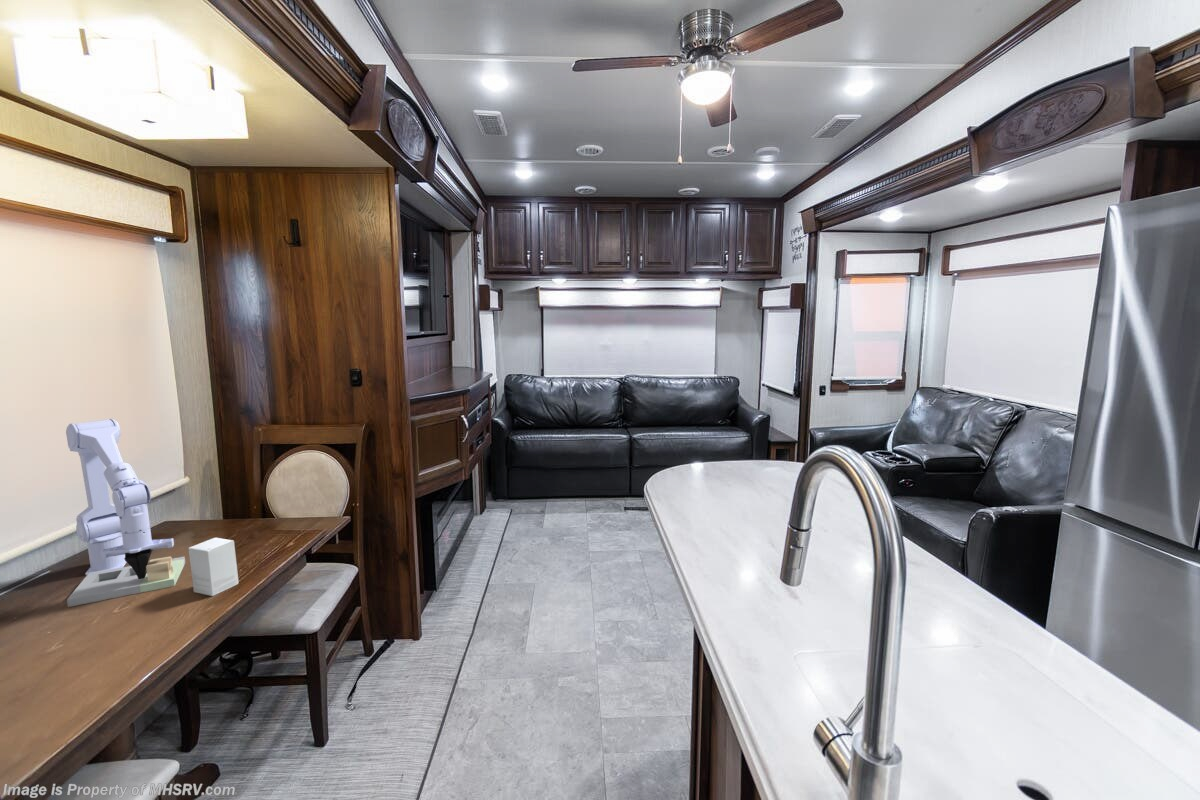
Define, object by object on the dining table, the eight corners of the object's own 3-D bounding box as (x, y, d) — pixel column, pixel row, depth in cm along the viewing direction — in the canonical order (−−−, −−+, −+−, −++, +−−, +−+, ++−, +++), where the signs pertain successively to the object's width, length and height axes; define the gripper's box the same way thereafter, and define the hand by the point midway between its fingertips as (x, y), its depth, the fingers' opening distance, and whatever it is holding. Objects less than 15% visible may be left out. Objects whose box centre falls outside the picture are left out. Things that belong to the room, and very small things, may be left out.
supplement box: (239, 583, 141) (235, 540, 139) (212, 597, 134) (206, 551, 132) (220, 579, 143) (216, 536, 142) (192, 592, 136) (187, 547, 135)
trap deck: (89, 580, 143) (88, 573, 142) (185, 562, 153) (184, 556, 153) (68, 607, 129) (66, 599, 129) (174, 585, 140) (173, 579, 139)
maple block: (152, 575, 141) (150, 559, 141) (173, 571, 144) (171, 556, 143) (148, 582, 138) (146, 566, 137) (169, 578, 140) (167, 562, 139)
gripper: (93, 540, 130) (101, 590, 132) (167, 529, 137) (173, 576, 139) (102, 530, 136) (109, 579, 138) (173, 520, 143) (178, 566, 145)
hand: (142, 577), depth 139 cm, fingers closed
